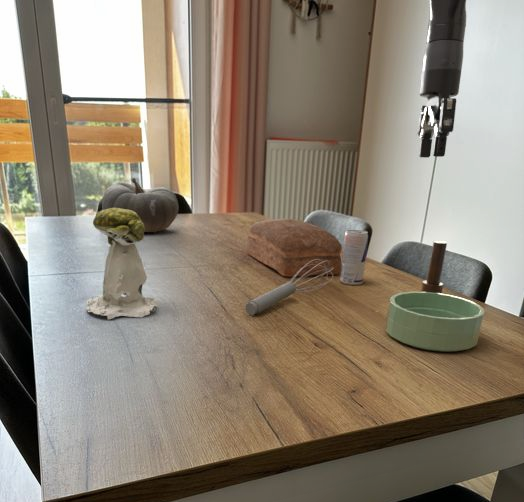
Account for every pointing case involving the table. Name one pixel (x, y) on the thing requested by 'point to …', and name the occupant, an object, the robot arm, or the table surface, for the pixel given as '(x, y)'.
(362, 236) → the energy drink
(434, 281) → the pestle
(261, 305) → the kitchen whisk
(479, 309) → the bowl
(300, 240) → the bread
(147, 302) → the mushroom
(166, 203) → the gourd
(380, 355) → the table surface
